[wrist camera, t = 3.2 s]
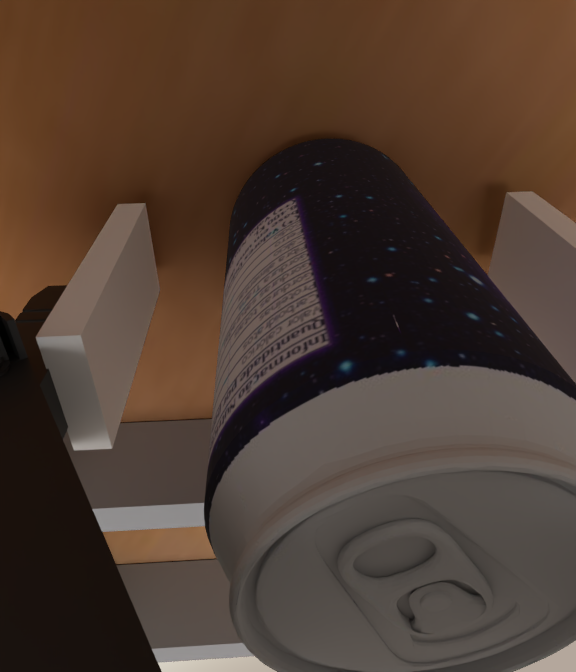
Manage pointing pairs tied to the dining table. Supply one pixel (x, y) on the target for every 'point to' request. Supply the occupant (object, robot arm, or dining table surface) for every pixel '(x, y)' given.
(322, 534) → the beverage can
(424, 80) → the dining table surface
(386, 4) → the dining table surface
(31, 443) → the robot arm
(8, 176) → the dining table surface
